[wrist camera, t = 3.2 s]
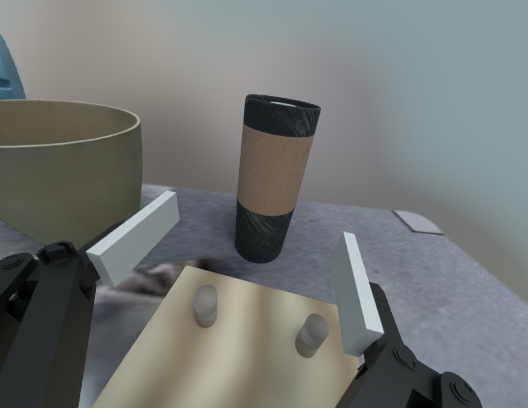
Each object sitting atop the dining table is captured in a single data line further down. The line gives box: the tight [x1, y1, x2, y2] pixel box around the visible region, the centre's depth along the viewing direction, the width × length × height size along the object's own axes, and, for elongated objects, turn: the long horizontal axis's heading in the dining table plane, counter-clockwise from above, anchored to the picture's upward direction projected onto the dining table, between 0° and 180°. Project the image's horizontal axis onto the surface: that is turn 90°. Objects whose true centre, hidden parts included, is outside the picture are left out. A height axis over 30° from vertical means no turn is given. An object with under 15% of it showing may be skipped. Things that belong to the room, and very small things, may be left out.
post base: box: [91, 265, 359, 408], centre depth 14 cm, size 20×20×5 cm
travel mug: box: [236, 94, 321, 263], centre depth 24 cm, size 8×8×20 cm
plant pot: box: [0, 99, 142, 250], centre depth 22 cm, size 15×15×16 cm
